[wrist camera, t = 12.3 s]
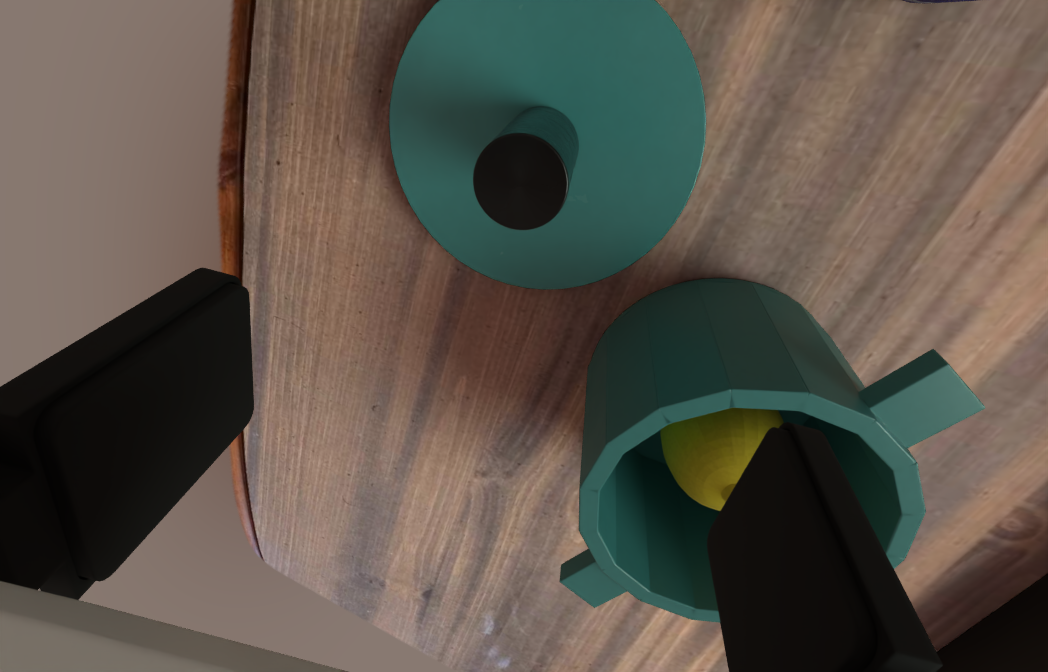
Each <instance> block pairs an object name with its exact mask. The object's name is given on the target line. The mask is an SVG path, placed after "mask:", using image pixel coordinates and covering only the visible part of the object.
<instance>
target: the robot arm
mask: <svg viewBox="0 0 1048 672" xmlns="http://www.w3.org/2000/svg"><path fill="white" fill-rule="evenodd" d="M253 410H254V395H253V372H252V349H251V326H250V302H249V292H248V290H247V289H246V288H245V287H242V286H241V282H240V280H239V279H238V278H237V277H236V276H233V275H229V274H226V273H222V272H217V271H214V270H210V269H206V268H199V269H197V270H195V271H193V272H191V273H190V274H188V275H187V276H185V277H183V278H181V279H180V280H178V281H176V282H175V283H173V284H171V285H170V286H168V287H166V288H165V289H163V290H161V291H160V292H158V293H156V294H155V295H153V296H151V297H150V298H148V299H147V300H145V301H143V302H141V303H140V304H138V305H136V306H135V307H133V308H131V309H130V310H128V311H126V312H125V313H123V314H121V315H120V316H118V317H116V318H115V319H113V320H111V321H109V322H108V323H106V324H104V325H103V326H101V327H99V328H98V329H96V330H94V331H93V332H91V333H89V334H88V335H86V336H84V337H83V338H81V339H79V340H78V341H76V342H74V343H73V344H71V345H69V346H68V347H66V348H65V349H63V350H61V351H59V352H58V353H56V354H54V355H53V356H51V357H49V358H48V359H46V360H44V361H43V362H41V363H39V364H38V365H36V366H34V367H33V368H31V369H29V370H28V371H26V372H24V373H23V374H21V375H19V376H18V377H16V378H14V379H12V380H11V381H9V382H8V383H6V384H4V385H3V386H1V387H0V672H347V671H344V670H340V669H336V668H332V667H329V666H325V665H321V664H317V663H314V662H310V661H306V660H303V659H299V658H295V657H292V656H288V655H284V654H281V653H277V652H273V651H269V650H265V649H262V648H258V647H254V646H250V645H247V644H243V643H239V642H235V641H231V640H228V639H224V638H220V637H216V636H212V635H209V634H205V633H201V632H197V631H194V630H190V629H186V628H182V627H178V626H175V625H171V624H167V623H163V622H159V621H155V620H152V619H148V618H144V617H141V616H137V615H133V614H129V613H126V612H122V611H118V610H114V609H110V608H107V607H103V606H99V605H95V604H91V603H87V602H84V601H79V598H80V597H81V596H82V595H83V594H84V593H85V592H86V591H87V590H88V589H89V588H90V587H91V585H92V584H93V583H94V582H95V581H103V580H105V579H106V578H108V577H110V576H111V575H112V574H113V573H114V572H115V571H116V570H117V569H118V568H119V566H120V565H121V564H122V563H123V562H124V561H125V560H126V559H127V557H129V555H130V554H131V553H132V552H133V551H134V550H135V549H136V548H137V547H138V546H139V544H140V543H141V542H142V541H143V540H144V539H145V538H146V537H147V535H148V534H149V533H150V532H151V531H152V530H153V529H154V528H155V527H156V525H157V524H158V523H159V522H160V521H161V520H162V519H163V518H164V517H165V516H166V515H167V513H168V512H169V511H170V510H171V509H172V508H173V507H174V506H175V505H176V503H177V502H178V501H179V500H180V499H181V498H182V497H183V496H184V495H185V493H186V492H187V491H188V490H189V489H190V488H191V487H192V486H193V485H194V483H195V482H196V481H197V480H198V479H199V478H200V477H201V476H202V475H203V474H204V472H205V471H206V470H207V469H208V468H209V467H210V466H211V465H212V464H213V462H214V461H215V460H216V459H217V458H218V457H219V456H220V455H221V454H222V452H223V451H224V450H225V449H226V448H227V447H228V446H229V445H230V444H231V443H232V441H233V440H234V439H235V438H236V437H237V436H238V435H239V434H240V433H241V431H242V430H243V429H244V428H245V427H246V426H247V424H248V423H249V421H250V419H251V417H252V414H253ZM707 551H708V557H709V562H710V568H711V573H712V579H713V584H714V590H715V596H716V601H717V607H718V612H719V618H720V623H721V629H722V635H723V640H724V646H725V651H726V657H727V662H728V668H729V672H937V670H938V669H939V668H940V667H942V666H943V664H942V662H941V660H940V658H939V656H938V654H937V653H936V651H935V649H934V647H933V645H932V643H931V641H930V639H929V637H928V635H927V633H926V631H925V629H924V627H923V625H922V623H921V621H920V619H919V617H918V616H917V614H916V612H915V610H914V608H913V606H912V604H911V602H910V600H909V598H908V596H907V594H906V592H905V590H904V588H903V586H902V584H901V582H900V580H899V578H898V577H897V575H896V573H895V571H894V569H893V567H892V565H891V563H890V561H889V559H888V557H887V555H886V553H885V551H884V549H883V547H882V545H881V543H880V541H879V540H878V538H877V536H876V534H875V532H874V530H873V528H872V526H871V524H870V522H869V520H868V518H867V516H866V514H865V512H864V510H863V508H862V506H861V504H860V503H859V501H858V499H857V497H856V495H855V493H854V491H853V489H852V487H851V485H850V483H849V481H848V479H847V477H846V475H845V473H844V471H843V469H842V467H841V466H840V464H839V462H838V460H837V458H836V456H835V454H834V452H833V450H832V448H831V446H830V444H829V442H828V440H827V438H826V436H825V435H824V434H823V432H821V431H819V430H816V429H812V428H809V427H805V426H801V425H797V424H794V423H790V422H786V423H783V424H782V425H780V427H779V428H776V427H772V428H770V429H769V430H768V431H767V433H766V434H765V436H764V438H763V439H762V441H761V443H760V445H759V446H758V448H757V450H756V451H755V453H754V455H753V456H752V458H751V460H750V462H749V463H748V465H747V467H746V468H745V470H744V472H743V473H742V475H741V477H740V479H739V480H738V482H737V484H736V485H735V487H734V489H733V490H732V492H731V494H730V496H729V497H728V499H727V501H726V502H725V504H724V506H723V507H722V509H721V511H720V512H719V514H718V516H717V518H716V519H715V521H714V523H713V524H712V526H711V528H710V530H709V533H708V538H707ZM39 588H40V590H41V591H38V589H39Z"/></svg>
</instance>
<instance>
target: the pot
mask: <svg viewBox="0 0 1048 672" xmlns="http://www.w3.org/2000/svg"><path fill="white" fill-rule="evenodd" d="M729 408H750V409H769V410H778V411H779V413H780V415H781V417H782V419H783V422H784V423H786V422H790V423H794V424H797V425H801V426H805V427H809V428H812V429H816V430H819V431H821V432H823V434H824V435H825V436H826V438H827V440H828V442H829V444H830V446H831V448H832V450H833V452H834V454H835V456H836V458H837V460H838V462H839V464H840V466H841V467H842V469H843V471H844V473H845V475H846V477H847V479H848V481H849V483H850V485H851V487H852V489H853V491H854V493H855V495H856V497H857V499H858V501H859V503H860V504H861V506H862V508H863V510H864V512H865V514H866V516H867V518H868V520H869V522H870V524H871V526H872V528H873V530H874V532H875V534H876V536H877V538H878V540H879V541H880V543H881V545H882V547H883V549H884V551H885V553H886V555H887V557H888V559H889V561H890V563H891V565H892V567H893V569H894V568H895V567H897V566H898V565H899V564H900V563H901V562H902V561H904V559H905V558H906V556H907V553H908V551H909V549H910V547H911V544H912V542H913V540H914V538H915V535H916V533H917V531H918V529H919V526H920V524H921V522H922V520H923V517H924V515H925V513H926V510H925V504H924V498H923V493H922V487H921V481H920V476H919V470H918V464H917V462H916V461H915V459H914V457H913V456H912V455H911V453H910V452H909V450H908V449H907V448H909V447H911V446H913V445H915V444H917V443H918V442H920V441H922V440H924V439H926V438H928V437H930V436H932V435H934V434H936V433H938V432H940V431H942V430H944V429H946V428H948V427H950V426H952V425H954V424H956V423H958V422H960V421H962V420H963V419H965V418H967V417H969V416H971V415H973V414H975V413H977V412H979V411H981V410H983V409H985V406H984V405H983V404H982V403H981V401H980V400H979V399H978V398H977V397H976V396H975V394H974V393H973V392H972V391H971V390H970V388H969V387H968V386H967V385H966V384H965V383H964V381H963V380H962V379H961V378H960V377H959V376H958V374H957V373H956V372H955V371H954V370H953V369H952V367H951V366H950V365H949V364H948V363H947V362H946V361H945V360H944V359H943V358H942V357H941V356H940V355H939V354H938V353H937V352H936V351H935V350H934V349H932V350H930V351H928V352H927V353H925V354H923V355H922V356H920V357H918V358H916V359H915V360H913V361H911V362H909V363H908V364H906V365H904V366H903V367H901V368H899V369H897V370H896V371H894V372H892V373H891V374H889V375H887V376H885V377H884V378H882V379H880V380H878V381H877V382H875V383H873V384H872V385H870V386H868V387H866V388H865V387H864V385H863V384H862V382H861V381H860V379H859V378H858V376H857V375H856V374H855V372H854V371H853V369H852V368H851V366H850V365H849V363H848V362H847V360H846V359H845V358H844V356H843V355H842V353H841V352H840V350H839V349H838V347H837V346H836V345H835V343H834V342H833V340H832V339H831V337H830V336H829V335H828V334H827V333H826V331H825V330H824V329H823V328H822V327H821V326H820V325H819V324H818V323H817V321H816V320H815V319H814V317H813V316H812V315H811V314H810V313H809V312H808V311H807V310H806V309H805V308H803V306H802V305H801V304H799V303H798V302H796V301H794V300H793V299H791V298H790V297H788V296H787V295H785V294H783V293H781V292H779V291H777V290H775V289H773V288H770V287H767V286H764V285H761V284H758V283H754V282H749V281H744V280H738V279H725V278H714V279H700V280H693V281H687V282H683V283H679V284H676V285H672V286H669V287H666V288H664V289H661V290H659V291H656V292H654V293H652V294H650V295H648V296H646V297H645V298H643V299H641V300H639V301H638V302H636V303H635V304H633V305H632V306H631V307H629V308H628V309H626V310H625V311H624V312H623V313H622V314H621V315H620V316H619V317H618V318H617V319H615V320H614V322H613V323H612V324H611V325H610V326H609V328H608V329H607V330H606V331H605V333H604V334H603V336H602V338H601V339H600V341H599V342H598V344H597V347H596V349H595V351H594V353H593V356H592V360H591V362H590V364H589V366H588V374H587V388H586V402H585V417H584V431H583V445H582V460H581V474H580V488H579V531H580V534H581V535H582V537H583V539H584V541H585V543H586V545H587V546H588V548H589V549H587V550H585V551H584V552H582V553H580V554H578V555H577V556H575V557H573V558H572V559H570V560H568V561H566V562H565V563H563V564H562V565H561V572H560V583H562V584H563V585H565V586H566V587H567V588H569V589H570V590H571V591H573V592H574V593H575V594H577V595H578V596H579V597H581V598H582V599H583V600H585V601H586V602H587V603H589V604H590V605H591V606H593V607H594V608H595V607H597V606H599V605H601V604H603V603H605V602H607V601H609V600H611V599H613V598H615V597H617V596H619V595H621V594H623V593H625V592H627V591H628V592H629V593H630V594H632V595H633V596H634V597H636V598H637V599H638V600H640V601H642V602H645V603H648V604H650V605H653V606H656V607H659V608H661V609H664V610H667V611H669V612H672V613H675V614H678V615H680V616H683V617H686V618H688V619H691V620H701V621H711V622H720V618H719V612H718V607H717V601H716V596H715V590H714V584H713V579H712V573H711V568H710V562H709V557H708V551H707V538H708V533H709V530H710V528H711V526H712V524H713V523H714V521H715V519H716V518H717V516H718V514H719V512H720V511H718V510H715V509H712V508H709V507H706V506H704V505H702V504H700V503H698V502H697V501H695V500H693V499H692V498H691V497H689V496H688V494H687V493H686V492H685V491H684V490H683V489H682V488H681V487H680V486H679V485H678V483H677V482H676V480H675V478H674V476H673V475H672V473H671V471H670V469H669V467H668V465H667V463H666V460H665V457H664V454H663V449H662V443H661V436H660V430H661V429H662V428H664V427H665V426H667V425H668V424H670V423H674V422H678V421H682V420H686V419H690V418H694V417H698V416H702V415H706V414H709V413H713V412H717V411H721V410H725V409H729Z"/></svg>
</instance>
